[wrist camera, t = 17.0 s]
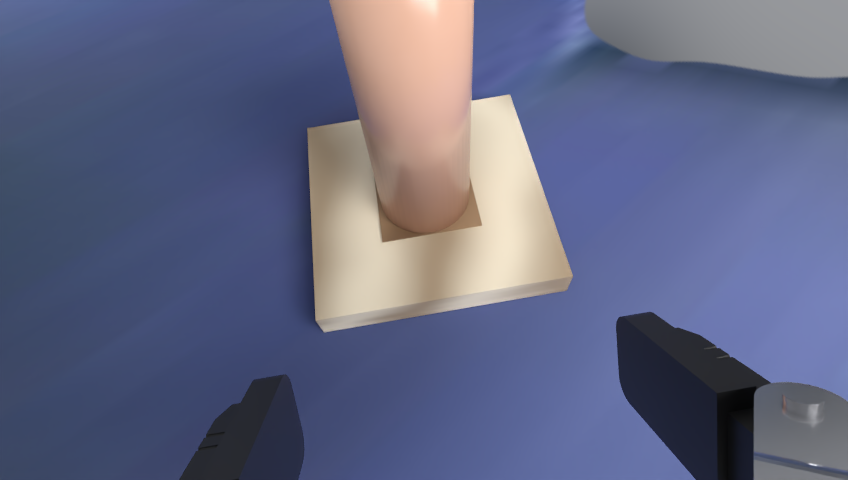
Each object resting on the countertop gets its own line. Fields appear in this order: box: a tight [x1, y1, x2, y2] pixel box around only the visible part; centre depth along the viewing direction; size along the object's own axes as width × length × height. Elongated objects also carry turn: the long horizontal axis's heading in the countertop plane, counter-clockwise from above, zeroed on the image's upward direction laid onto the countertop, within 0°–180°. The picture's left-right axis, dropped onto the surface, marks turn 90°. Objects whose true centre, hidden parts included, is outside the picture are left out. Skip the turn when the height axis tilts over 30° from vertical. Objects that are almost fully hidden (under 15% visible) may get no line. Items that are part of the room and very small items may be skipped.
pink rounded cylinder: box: [329, 0, 474, 233], centre depth 19 cm, size 5×5×15 cm
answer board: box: [307, 95, 573, 332], centre depth 26 cm, size 12×12×2 cm
